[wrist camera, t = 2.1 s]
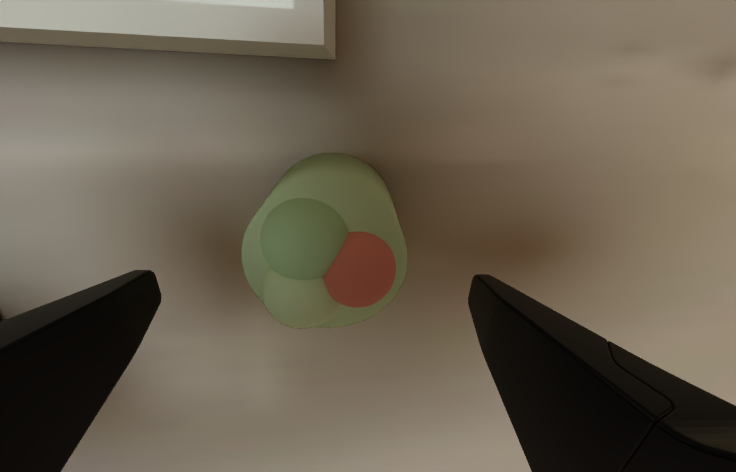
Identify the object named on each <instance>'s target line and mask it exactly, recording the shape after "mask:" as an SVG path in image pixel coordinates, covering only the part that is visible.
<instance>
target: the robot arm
mask: <svg viewBox="0 0 736 472" xmlns="http://www.w3.org/2000/svg"><path fill="white" fill-rule="evenodd" d="M160 303H161V292H160V289H159V286H158V282H157V279H156V276H155V274H154V272H152V271H151V270H134V271H131V272H129V273H126V274H124V275H121V276H118V277H116V278H113V279H111V280H108V281H105V282H103V283H100V284H98V285H95V286H92V287H90V288H87V289H85V290H82V291H79V292H77V293H74V294H72V295H69V296H66V297H64V298H61V299H59V300H56V301H53V302H51V303H48V304H46V305H43V306H40V307H38V308H35V309H33V310H30V311H27V312H25V313H22V314H20V315H17V316H14V317H12V318H9V319H7V320H4V321H1V322H0V472H61V470H62V469H63V467H64V466H65V464H66V463H67V461H68V459H69V458H70V456H71V455H72V453H73V451H74V450H75V448H76V447H77V445H78V444H79V442H80V440H81V439H82V437H83V436H84V434H85V432H86V431H87V429H88V428H89V426H90V425H91V423H92V421H93V420H94V418H95V417H96V415H97V413H98V412H99V410H100V409H101V407H102V406H103V404H104V402H105V401H106V399H107V398H108V396H109V394H110V393H111V391H112V390H113V388H114V387H115V385H116V383H117V382H118V380H119V379H120V377H121V375H122V374H123V372H124V371H125V369H126V368H127V366H128V364H129V363H130V361H131V360H132V358H133V356H134V355H135V353H136V351H137V349H138V347H139V345H140V344H141V342H142V339H143V337H144V335H145V333H146V331H147V329H148V327H149V325H150V323H151V321H152V319H153V317H154V315H155V313H156V311H157V309H158V307H159V305H160ZM468 304H469V308H470V312H471V315H472V319H473V322H474V326H475V329H476V333H477V336H478V340H479V343H480V346H481V349H482V352H483V355H484V358H485V360H486V362H487V365H488V367H489V370H490V372H491V374H492V377H493V379H494V382H495V384H496V386H497V389H498V391H499V394H500V396H501V399H502V401H503V403H504V406H505V408H506V411H507V413H508V415H509V418H510V420H511V423H512V425H513V427H514V430H515V432H516V435H517V437H518V439H519V442H520V444H521V447H522V449H523V451H524V454H525V456H526V459H527V461H528V463H529V466H530V468H531V471H532V472H736V406H735V405H733V404H731V403H729V402H727V401H725V400H723V399H721V398H719V397H717V396H715V395H713V394H711V393H709V392H706V391H704V390H702V389H700V388H698V387H696V386H694V385H692V384H690V383H688V382H686V381H684V380H682V379H680V378H678V377H676V376H674V375H672V374H670V373H668V372H666V371H664V370H663V369H661V368H659V367H657V366H655V365H653V364H651V363H649V362H647V361H645V360H643V359H641V358H640V357H638V356H636V355H634V354H632V353H630V352H628V351H626V350H625V349H623V348H621V347H619V346H617V345H616V344H614V343H612V342H610V341H608V342H607V340H606V339H605V338H603V337H601V336H599V335H597V334H596V333H594V332H592V331H590V330H588V329H587V328H585V327H583V326H581V325H579V324H578V323H576V322H574V321H572V320H570V319H568V318H567V317H565V316H563V315H561V314H559V313H558V312H556V311H554V310H552V309H550V308H549V307H547V306H545V305H543V304H541V303H540V302H538V301H536V300H534V299H532V298H530V297H529V296H527V295H525V294H523V293H521V292H520V291H518V290H516V289H514V288H512V287H511V286H509V285H507V284H505V283H503V282H502V281H500V280H498V279H496V278H494V277H492V276H491V275H487V274H476V275H475V276H474V277H473V279H472V284H471V288H470V292H469V297H468Z"/></svg>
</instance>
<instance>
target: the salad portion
mask: <svg viewBox="0 0 736 472" xmlns="http://www.w3.org/2000/svg"><path fill="white" fill-rule="evenodd" d="M241 256H242V265H243V270H244V273H245V276H246V278H247V281H248V283H249V285H250V286H251V288H252V290H253V291H254V292H255V294H256V295H257V296H258V298H259V299H260V300H261V301H262V302H263V303H264V304H265V306H266V308H267V309H268V311H269V312H270V314H271V315H272V316H273V317H274V318H275V319H276V320H277V321H279V322H280V323H282V324H284V325H286V326H288V327H292V328H297V329H306V328H312V327H325V328H329V327H341V326H347V325H351V324H355V323H358V322H360V321H363V320H365V319H367V318H369V317H371V316H373V315H375V314H376V313H378V312H379V311H381V310H382V309H383V308H384V307H385V306H387V305H388V304H389V302H390V301H391V300H392V299H393V298H394V297H395V295H396V294H397V292H398V291H399V289H400V287H401V285H402V283H403V281H404V278H405V275H406V270H407V261H408V255H407V247H406V243H405V239H404V236H403V233H402V230H401V227H400V224H399V221H398V218H397V215H396V212H395V208H394V205H393V202H392V199H391V196H390V193H389V191H388V188H387V186H386V184H385V183H384V181H383V179H382V178H381V177H380V176H379V174H378V173H377V172H376V171H375V170H374V169H373V168H372V167H370V166H369V165H368V164H366V163H365V162H363V161H361V160H359V159H357V158H355V157H352V156H349V155H345V154H339V153H323V154H317V155H313V156H310V157H308V158H305V159H303V160H301V161H300V162H298V163H297V164H295V165H294V166H293V167H291V168H290V169H289V170H288V171H287V172H286V174H285V175H284V176H283V177H282V179H281V180H280V181H279V183H278V184H277V186H276V187H275V188H274V190H273V191H272V192H271V194H270V195H269V196H268V198H267V199H266V201H265V202H264V203H263V205H262V206H261V207H260V209H259V210H258V211H257V213H256V214H255V216H254V217H253V219H252V220H251V222H250V223H249V225H248V227H247V230H246V232H245V234H244V238H243V242H242V251H241Z"/></svg>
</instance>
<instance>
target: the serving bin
mask: <svg viewBox="0 0 736 472" xmlns="http://www.w3.org/2000/svg"><path fill="white" fill-rule="evenodd" d="M0 42H11V43H30V44H49V45H68V46H86V47H105V48H124V49H143V50H161V51H180V52H199V53H218V54H236V55H255V56H274V57H293V58H311V59H330V60H336V0H0Z"/></svg>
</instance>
